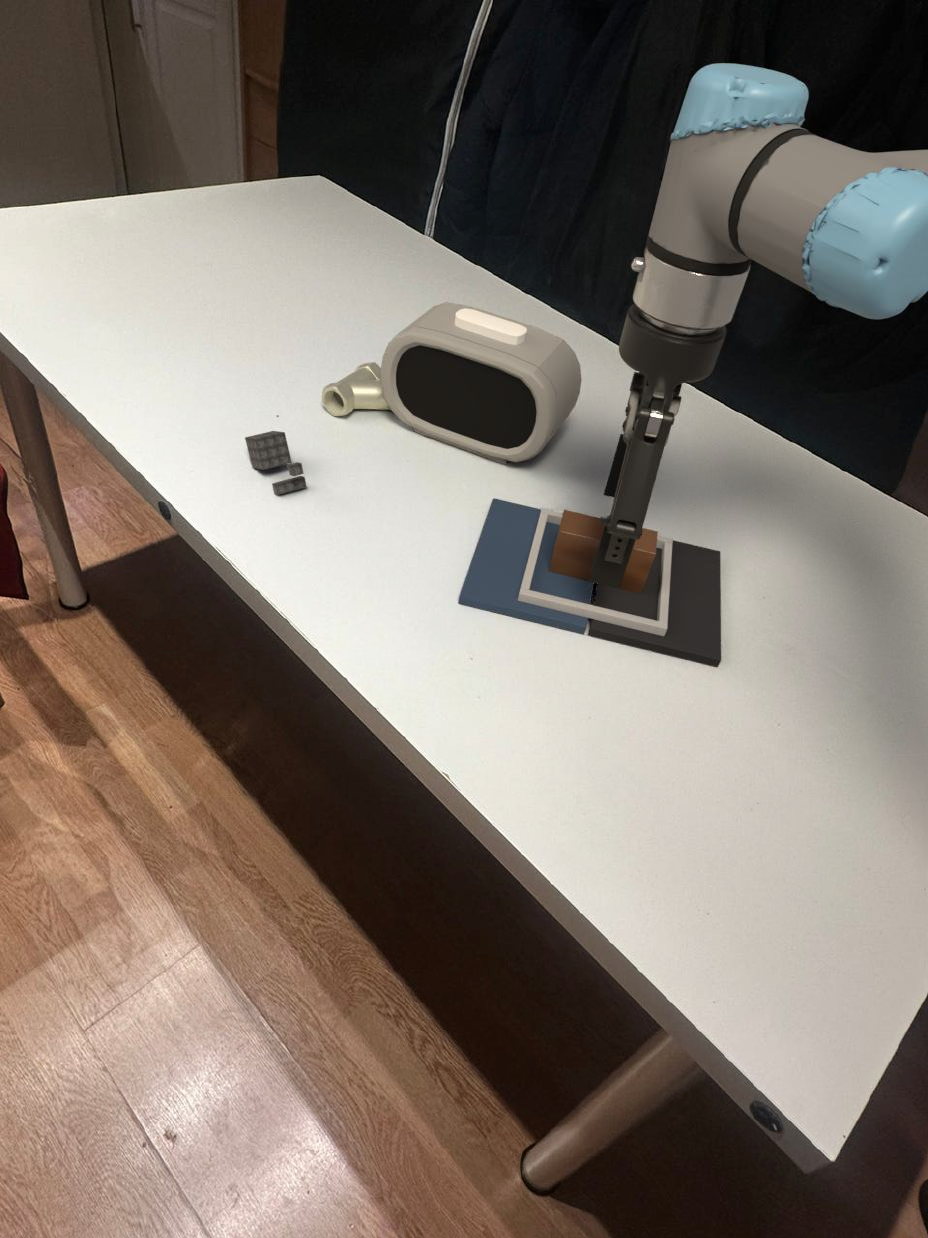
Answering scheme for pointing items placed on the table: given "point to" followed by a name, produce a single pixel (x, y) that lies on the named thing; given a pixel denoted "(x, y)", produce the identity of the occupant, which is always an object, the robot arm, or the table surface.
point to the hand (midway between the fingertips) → (611, 537)
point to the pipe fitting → (356, 391)
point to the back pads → (654, 620)
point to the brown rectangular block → (581, 547)
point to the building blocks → (275, 459)
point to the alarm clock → (481, 381)
